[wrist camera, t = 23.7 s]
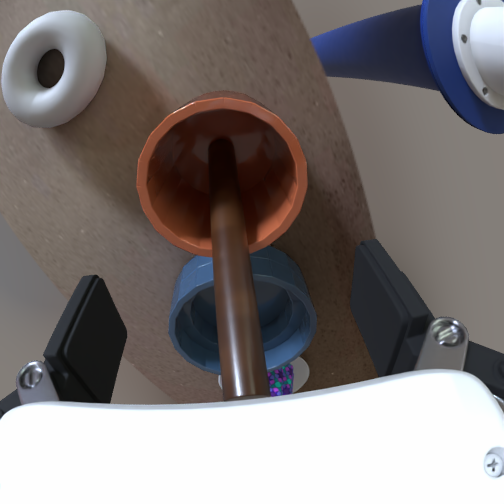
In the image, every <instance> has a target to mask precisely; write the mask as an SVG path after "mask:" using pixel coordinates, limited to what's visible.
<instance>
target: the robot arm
mask: <svg viewBox="0 0 504 504" xmlns="http://www.w3.org/2000/svg"><path fill="white" fill-rule="evenodd" d="M452 38H453V45H454V51H455V55H456V58H457V61H458V65H459V67H460V69H461V72H462V74H463V76H464V78H465V80H466V82H467V83H468V85H469V87H470V88H471V89H472V91H473V92H474V93H475V95H476V96H477V97H479V98H480V99H481V100H482V101H483V102H484V103H486V104H488V105H489V106H492V107H495V108H497V109H502V110H504V2H502V1H501V0H461V1H460V2H459V4H458V6H457V7H456V9H455V13H454V16H453V23H452ZM350 307H351V311H352V314H353V316H354V318H355V320H356V323H357V325H358V327H359V330H360V332H361V334H362V337H363V339H364V342H365V344H366V346H367V349H368V351H369V354H370V356H371V358H372V361H373V363H374V366H375V368H376V371H377V373H378V376H379V378H376V379H371V380H367V381H362V382H357V383H352V384H347V385H342V386H337V387H331V388H326V389H320V390H315V391H309V392H303V393H296V394H289V395H282V396H275V397H266V398H258V399H249V400H239V401H227V402H213V403H196V404H165V405H130V404H129V405H128V404H110V401H111V397H112V393H113V389H114V385H115V381H116V377H117V372H118V369H119V365H120V361H121V357H122V354H123V350H124V346H125V343H126V339H127V330H126V327H125V325H124V323H123V321H122V319H121V317H120V315H119V313H118V311H117V309H116V306H115V304H114V302H113V300H112V298H111V296H110V293H109V291H108V289H107V287H106V285H105V282H104V280H103V279H102V278H99V276H98V275H89V276H83V277H82V278H81V280H80V282H79V284H78V285H77V287H76V289H75V291H74V293H73V295H72V297H71V298H70V300H69V302H68V304H67V306H66V308H65V310H64V312H63V314H62V316H61V318H60V320H59V322H58V324H57V326H56V328H55V330H54V332H53V334H52V336H51V338H50V341H49V343H48V345H47V347H46V350H45V352H44V354H43V356H44V357H45V361H44V363H43V362H42V361H37V360H36V361H31V362H29V363H27V364H26V365H25V366H23V367H22V369H21V370H20V371H19V373H18V375H17V378H16V387H17V389H16V390H15V391H13V392H12V393H11V394H9V395H8V396H6V397H5V398H4V399H2V400H1V401H0V504H504V354H502V353H500V352H497V351H495V350H492V349H489V348H487V347H484V346H482V345H479V344H476V343H474V342H471V341H469V334H468V331H467V329H466V327H465V326H464V325H463V324H462V323H461V322H459V321H458V320H456V319H454V318H451V317H439V318H436V319H435V318H434V316H433V315H432V313H431V312H430V310H429V309H428V307H427V306H426V304H425V303H424V301H423V300H422V298H421V297H420V295H419V294H418V292H417V291H416V290H415V288H414V287H413V285H412V284H411V282H410V281H409V279H408V278H407V277H406V275H405V274H404V273H403V272H401V271H400V270H399V269H398V267H397V266H396V264H395V263H394V262H393V260H392V259H391V257H390V256H389V255H388V253H387V252H386V251H385V249H384V248H383V247H382V245H381V244H380V243H379V241H378V240H377V239H373V240H366V241H361V243H360V245H358V246H356V250H355V262H354V272H353V282H352V291H351V299H350Z"/></svg>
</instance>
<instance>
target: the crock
mask: <svg viewBox="0 0 504 504" xmlns="http://www.w3.org/2000/svg"><path fill="white" fill-rule="evenodd" d="M217 139H226V140H228V141H230V142H231V143H232V144H233V146H234V151H235V158H236V165H237V171H238V178H239V185H240V192H241V199H242V205H243V212H244V219H245V226H246V233H247V239H248V246H249V253H250V254H251V253H253V252H255V251H258V250H260V249H263V248H265V247H267V246H269V245H270V244H271V243H272V242H274V241H275V240H276V239H277V238H279V237H280V236H281V235H282V234H284V233H285V232H286V230H288V229H289V227H290V226H291V224H292V223H293V221H294V220H295V218H296V217H297V216H298V214H299V213H300V210H301V208H302V205H303V202H304V198H305V195H306V191H307V187H308V179H307V162H306V159H305V156H304V154H303V151H302V149H301V146H300V144H299V141H298V139H297V138H296V136H295V134H294V133H293V132H292V131H291V130H290V129H289V128H288V126H287V125H286V124H285V123H284V122H283V121H282V120H281V119H280V118H279V117H278V116H277V115H276V114H275V113H273V112H272V111H271V110H270V109H268V108H267V107H266V106H265V105H263V104H262V103H261V102H259V101H257V100H255V99H254V98H252V97H250V96H248V95H246V94H243V93H239V92H233V91H224V90H223V91H215V92H210V93H206V94H203V95H201V96H199V97H197V98H195V99H193V100H191V101H189V102H187V103H186V104H184V105H183V106H181V107H180V108H178V109H177V110H175V111H174V112H172V113H171V114H170V115H168V116H167V117H166V118H165V119H164V120H163V121H162V122H161V123H160V124H159V126H158V127H157V128H156V129H155V130H154V131H153V132H152V133H151V134H150V136H149V137H148V139H147V141H146V144H145V146H144V148H143V150H142V153H141V155H140V157H139V161H138V169H137V183H136V185H137V190H138V194H139V198H140V202H141V206H142V209H143V211H144V213H145V214H146V216H147V217H148V219H149V220H150V222H151V223H152V225H153V227H154V228H155V230H156V231H157V232H158V233H160V234H161V235H162V236H163V237H164V238H166V239H167V240H168V241H169V242H170V243H172V244H173V245H174V246H176V247H179V248H181V249H183V250H185V251H188V252H190V253H192V254H195V255H198V256H204V257H212V242H211V221H210V197H209V168H208V147H209V145H210V144H211V143H212V142H213V141H215V140H217Z"/></svg>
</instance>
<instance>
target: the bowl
mask: <svg viewBox="0 0 504 504" xmlns="http://www.w3.org/2000/svg"><path fill="white" fill-rule="evenodd" d="M250 259H251V266H252V273H253V280H254V286H255V293H256V300H257V306H258V313H259V320H260V326H261V333H262V340H263V346H264V353H265V360H266V366H267V373H268V372H271V371H274V370H277V369H280V368H282V367H284V366H285V365H287V364H289V363H290V362H292V361H294V360H295V359H297V358H298V357H299V356H300V355H301V354H302V353H303V352H304V351H305V350H306V349H307V348H308V347H309V345H310V343H311V341H312V339H313V337H314V335H315V333H316V325H317V314H316V311H315V308H314V305H313V302H312V299H311V297H310V293H309V290H308V288H307V285H306V282H305V279H304V277H303V275H302V272H301V270H300V268H299V266H298V265H297V264H296V263H295V262H294V261H293V260H292V259H291V258H290V257H289V256H288V255H287V254H286V253H284V252H282V251H280V250H278V249H275V248H273V247H271V246H267V247H265V248H263V249H260V250H258V251H255V252H253V253H251V254H250ZM168 333H169V336H170V338H171V341H172V343H173V345H174V348H175V349H176V350H177V351H178V352H179V354H180V355H181V356H182V357H183V358H184V359H185V360H186V361H187V362H189V363H191V364H193V365H194V366H196V367H198V368H200V369H201V370H204V371H207V372H211V373H214V374H218V375H221V368H220V357H219V345H218V333H217V320H216V307H215V292H214V277H213V260H212V257H204V256H198V255H196V256H195V257H194V258H193V259H192V260H190V261H189V262H188V263H187V264H186V265H185V266H184V267H183V269H182V271H181V273H180V275H179V276H178V278H177V280H176V283H175V288H174V293H173V299H172V304H171V310H170V315H169V331H168Z"/></svg>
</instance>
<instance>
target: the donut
mask: <svg viewBox="0 0 504 504" xmlns="http://www.w3.org/2000/svg"><path fill="white" fill-rule="evenodd" d="M51 49H58V50H59V51H60V52H61V53H62V54H63V57H64V61H65V67H64V73H63V75H62V77H61V79H60V80H59V82H58V83H57V84H56V85H55V86H53V87H51V88H45V87H43V86H42V85H41V84H40V83H39V81H38V77H37V68H38V64H39V62H40V59H41V58H42V56H43V55H44V54H45V53H46V52H47V51H49V50H51ZM106 61H107V55H106V46H105V40H104V38H103V36H102V34H101V32H100V30H99V28H98V26H97V25H96V24H95V23H94V22H93V21H91V20H90V19H89V18H88V17H87V16H86V15H84V14H81V13H78V12H74V11H71V10H64V11H55V12H50V13H47V14H45V15H43V16H41V17H39V18H37V19H35V20H34V21H32V22H31V23H30V24H29V25H28V26H26V27H25V28H24V29H23V30H22V31H21V32H20V33H19V34H18V36H17V37H16V39H15V40H14V42H13V43H12V45H11V46H10V48H9V50H8V53H7V55H6V58H5V61H4V63H3V70H2V78H1V84H2V91H3V97H4V99H5V102H6V104H7V106H8V108H9V110H10V111H11V112H12V113H13V114H14V115H15V117H16V118H17V119H18V120H20V121H21V122H23V123H25V124H28V125H30V126H32V127H39V128H52V127H55V126H58V125H61V124H64V123H67V122H68V121H69V120H71V119H72V118H74V117H75V116H76V115H78V114H79V113H81V112H82V111H83V110H84V109H85V108H86V106H87V105H88V104H89V103H90V101H91V100H92V99H93V98H94V97H95V95H96V93H97V91H98V88H99V86H100V84H101V82H102V80H103V78H104V72H105V66H106Z"/></svg>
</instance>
